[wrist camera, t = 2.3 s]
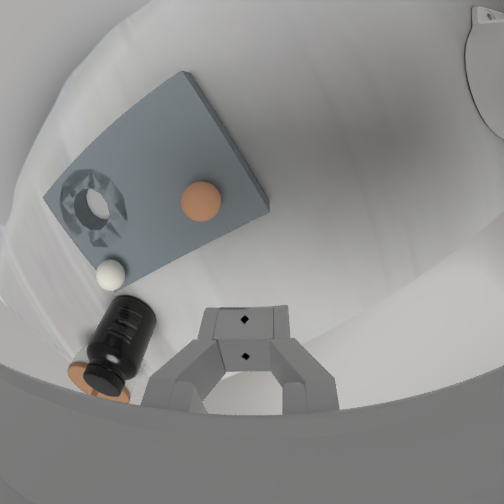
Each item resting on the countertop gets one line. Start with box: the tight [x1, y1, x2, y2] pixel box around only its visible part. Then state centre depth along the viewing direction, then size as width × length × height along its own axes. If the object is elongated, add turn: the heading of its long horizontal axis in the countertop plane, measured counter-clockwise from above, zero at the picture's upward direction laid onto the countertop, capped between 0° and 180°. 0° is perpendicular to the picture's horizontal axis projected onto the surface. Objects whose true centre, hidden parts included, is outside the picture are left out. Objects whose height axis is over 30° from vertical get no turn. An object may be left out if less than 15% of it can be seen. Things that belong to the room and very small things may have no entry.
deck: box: [43, 71, 270, 292], centre depth 25 cm, size 20×14×2 cm
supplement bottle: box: [83, 297, 155, 397], centre depth 29 cm, size 7×7×12 cm
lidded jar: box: [68, 344, 134, 403], centre depth 36 cm, size 11×11×9 cm
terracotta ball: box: [181, 181, 221, 222], centre depth 22 cm, size 3×3×3 cm
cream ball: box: [96, 260, 125, 291], centre depth 26 cm, size 3×3×3 cm
